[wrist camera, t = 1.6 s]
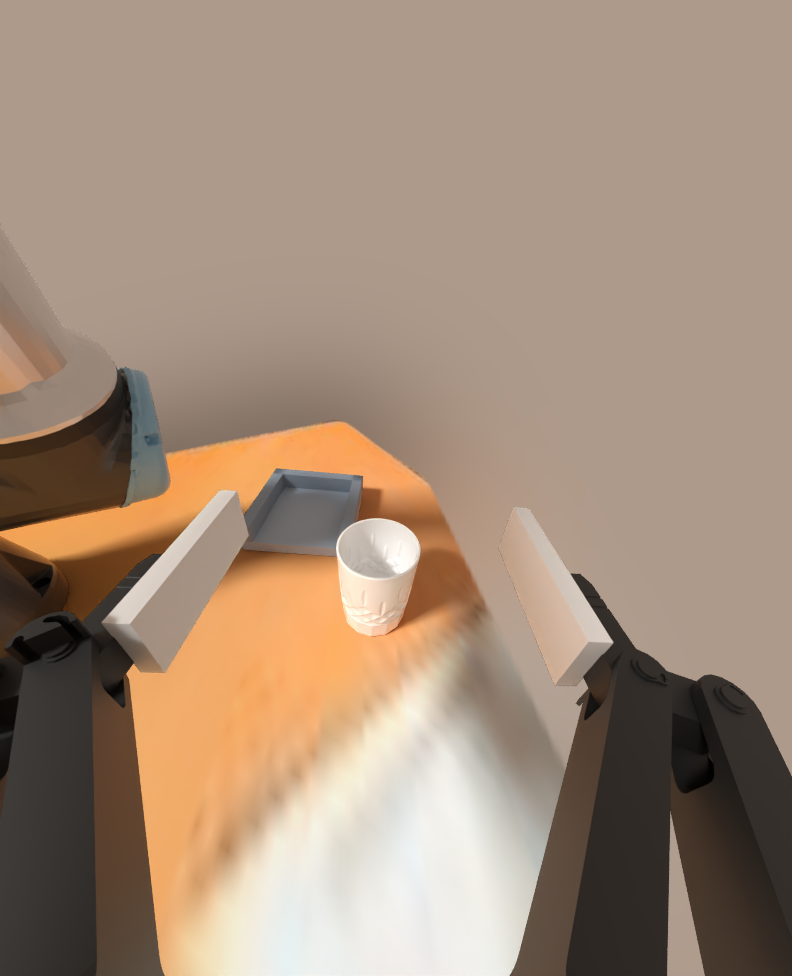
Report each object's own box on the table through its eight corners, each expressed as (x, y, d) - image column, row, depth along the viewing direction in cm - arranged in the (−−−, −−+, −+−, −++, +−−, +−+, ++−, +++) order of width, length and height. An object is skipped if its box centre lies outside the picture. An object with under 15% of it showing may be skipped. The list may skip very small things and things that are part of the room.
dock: (350, 557, 39) (350, 535, 37) (242, 549, 39) (236, 526, 36) (362, 495, 51) (362, 475, 48) (279, 488, 50) (276, 468, 48)
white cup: (408, 645, 30) (422, 583, 25) (331, 639, 30) (327, 575, 24) (408, 582, 37) (419, 521, 31) (345, 576, 36) (344, 514, 31)
